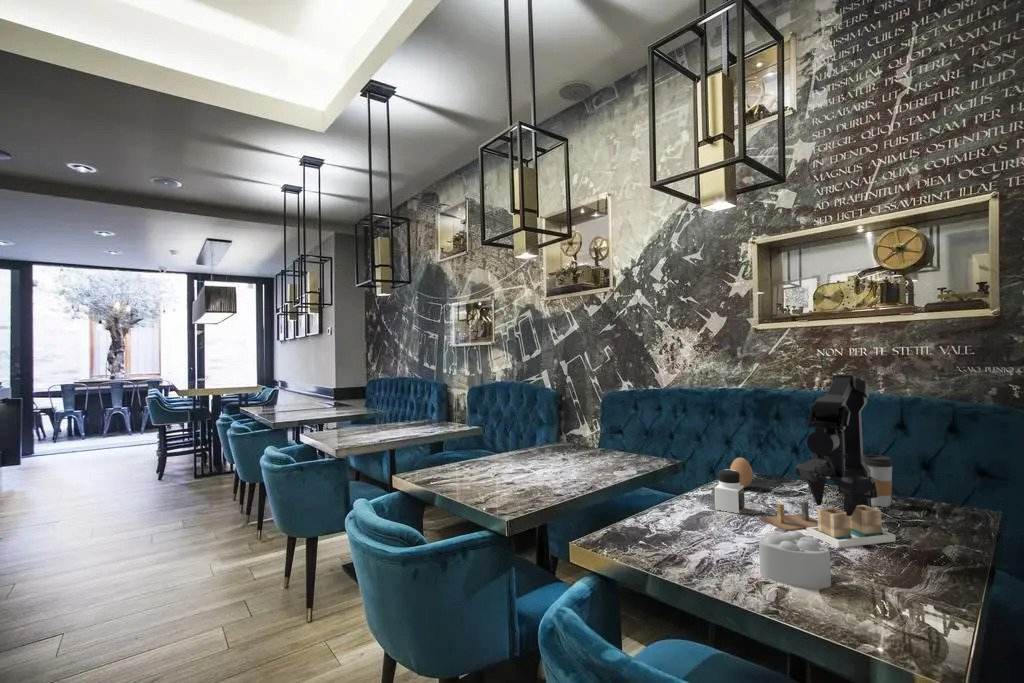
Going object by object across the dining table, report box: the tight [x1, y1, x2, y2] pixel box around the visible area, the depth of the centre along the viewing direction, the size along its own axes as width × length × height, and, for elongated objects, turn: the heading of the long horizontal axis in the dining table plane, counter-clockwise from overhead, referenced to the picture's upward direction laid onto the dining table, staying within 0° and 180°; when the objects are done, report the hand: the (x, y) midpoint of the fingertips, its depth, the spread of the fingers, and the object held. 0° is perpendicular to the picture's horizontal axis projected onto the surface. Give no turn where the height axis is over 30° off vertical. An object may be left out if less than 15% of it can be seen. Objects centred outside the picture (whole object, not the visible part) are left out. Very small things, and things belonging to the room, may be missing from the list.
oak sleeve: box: [816, 507, 852, 540], centre depth 126 cm, size 5×5×7 cm
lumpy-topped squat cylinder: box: [758, 530, 832, 590], centre depth 107 cm, size 10×13×9 cm
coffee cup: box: [863, 454, 894, 508], centre depth 156 cm, size 8×8×15 cm
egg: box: [729, 457, 754, 489], centre depth 178 cm, size 8×8×11 cm
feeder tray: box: [805, 527, 897, 549], centre depth 127 cm, size 17×10×2 cm, turn 102°
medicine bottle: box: [714, 468, 746, 514], centre depth 154 cm, size 7×7×12 cm
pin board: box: [758, 501, 818, 532], centre depth 139 cm, size 14×10×6 cm
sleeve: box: [850, 505, 883, 537], centre depth 128 cm, size 5×5×7 cm
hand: (833, 510), depth 127 cm, fingers open, 9 cm apart
